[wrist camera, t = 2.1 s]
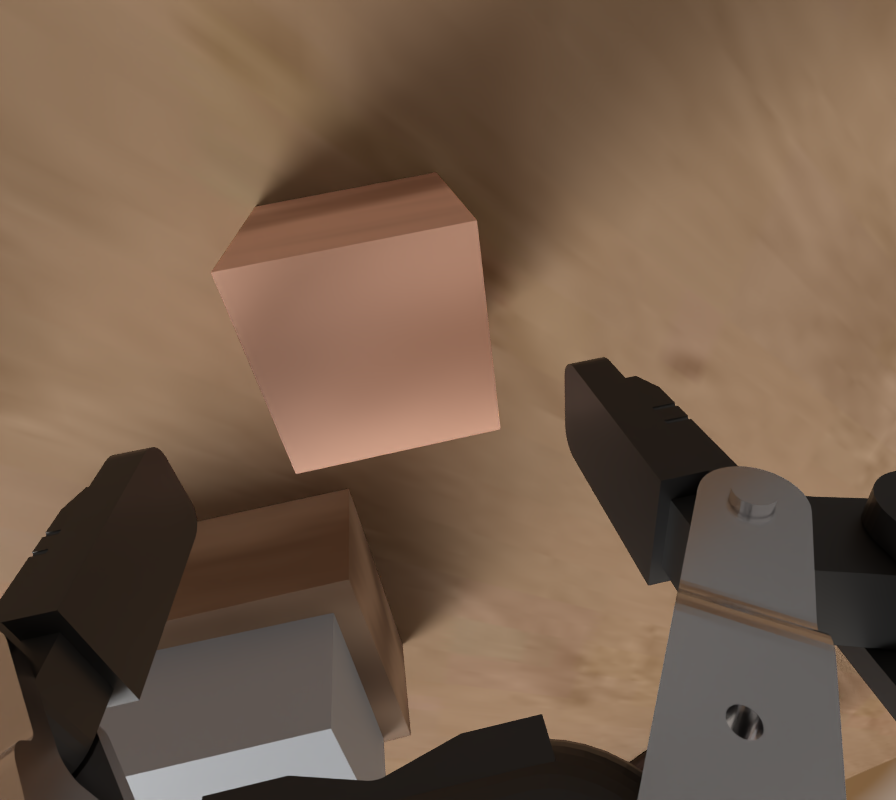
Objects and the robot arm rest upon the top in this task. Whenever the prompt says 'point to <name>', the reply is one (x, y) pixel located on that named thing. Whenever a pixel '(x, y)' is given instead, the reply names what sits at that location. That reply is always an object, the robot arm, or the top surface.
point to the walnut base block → (295, 589)
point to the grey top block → (248, 714)
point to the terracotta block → (364, 319)
